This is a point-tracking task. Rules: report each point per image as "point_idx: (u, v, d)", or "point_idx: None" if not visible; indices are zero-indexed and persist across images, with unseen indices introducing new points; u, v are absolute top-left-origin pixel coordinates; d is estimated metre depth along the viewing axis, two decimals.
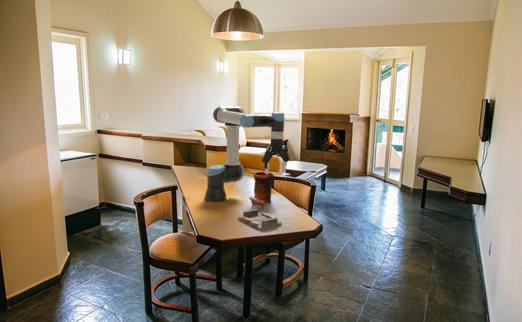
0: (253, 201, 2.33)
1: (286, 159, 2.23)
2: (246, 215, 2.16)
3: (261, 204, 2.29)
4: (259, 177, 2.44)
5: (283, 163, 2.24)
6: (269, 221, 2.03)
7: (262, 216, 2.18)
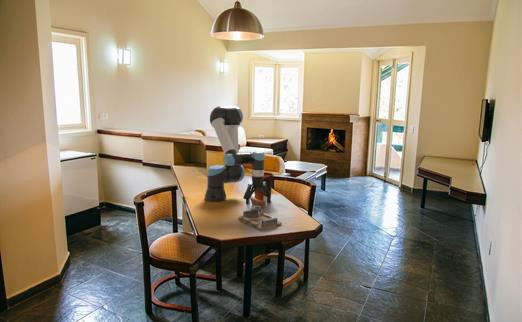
0: (253, 201, 2.33)
1: (267, 194, 2.36)
2: (246, 215, 2.16)
3: (261, 204, 2.29)
4: None
5: (264, 198, 2.37)
6: (269, 221, 2.03)
7: (262, 216, 2.18)
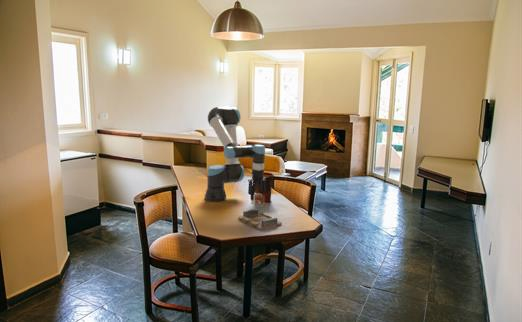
0: None
1: (262, 192, 2.34)
2: (246, 215, 2.16)
3: (261, 199, 2.29)
4: None
5: None
6: (269, 221, 2.03)
7: (262, 216, 2.18)
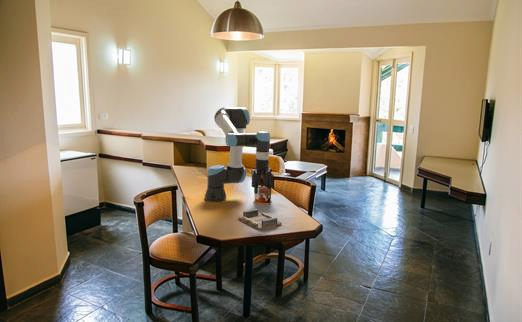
0: None
1: (267, 184, 2.10)
2: (246, 215, 2.16)
3: (266, 192, 2.05)
4: None
5: None
6: (269, 221, 2.03)
7: (262, 216, 2.18)
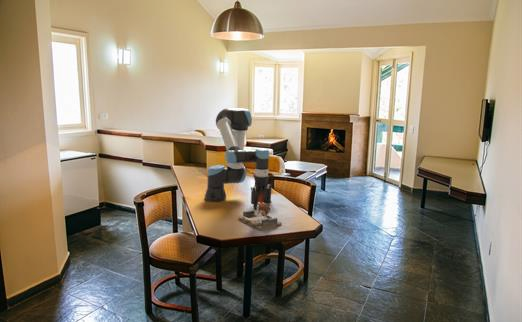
0: None
1: (267, 201, 2.11)
2: (246, 215, 2.16)
3: (265, 209, 2.06)
4: None
5: None
6: (269, 221, 2.03)
7: (262, 216, 2.18)
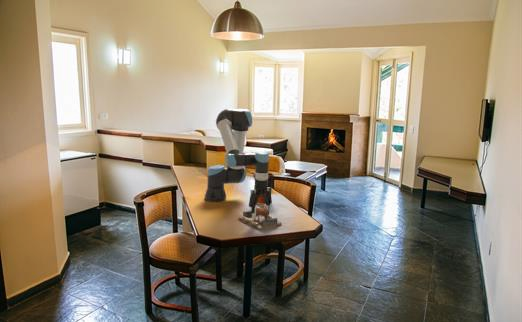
0: (256, 210, 2.11)
1: (268, 203, 2.13)
2: (246, 215, 2.16)
3: (264, 213, 2.07)
4: None
5: (265, 207, 2.13)
6: (269, 221, 2.03)
7: None
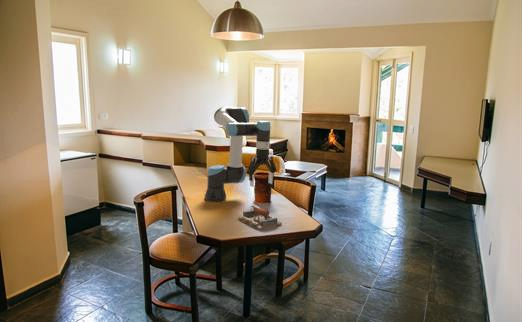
0: (256, 210, 2.10)
1: (273, 170, 2.10)
2: (246, 215, 2.16)
3: (264, 213, 2.07)
4: (259, 177, 2.44)
5: (270, 174, 2.11)
6: (269, 221, 2.03)
7: None
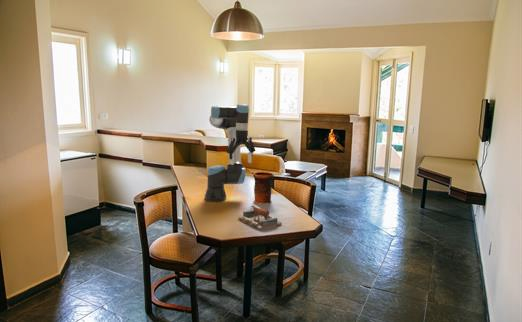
0: (256, 210, 2.10)
1: (252, 150, 2.29)
2: (246, 215, 2.16)
3: (264, 213, 2.07)
4: (259, 177, 2.44)
5: (249, 154, 2.29)
6: (269, 221, 2.03)
7: None
